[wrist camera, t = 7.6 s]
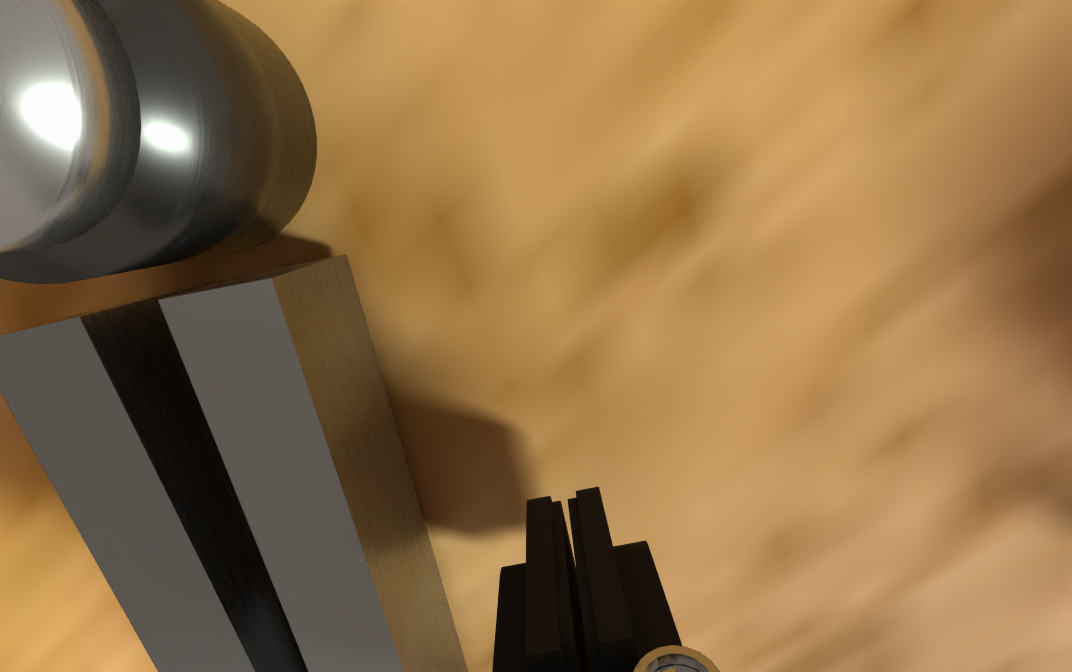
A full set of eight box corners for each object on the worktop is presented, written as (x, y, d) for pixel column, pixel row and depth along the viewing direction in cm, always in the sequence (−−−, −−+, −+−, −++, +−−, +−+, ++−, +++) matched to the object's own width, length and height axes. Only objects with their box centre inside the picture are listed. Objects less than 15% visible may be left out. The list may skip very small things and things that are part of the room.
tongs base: (-6, 36, 10) (-354, -69, 6) (264, -37, 9) (82, -197, 6) (376, 850, 16) (329, 1053, 12) (543, 821, 16) (547, 1019, 12)
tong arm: (42, 38, 9) (-430, -114, 5) (300, -17, 9) (68, -233, 5) (379, 863, 16) (318, 1137, 11) (536, 840, 16) (539, 1111, 11)
